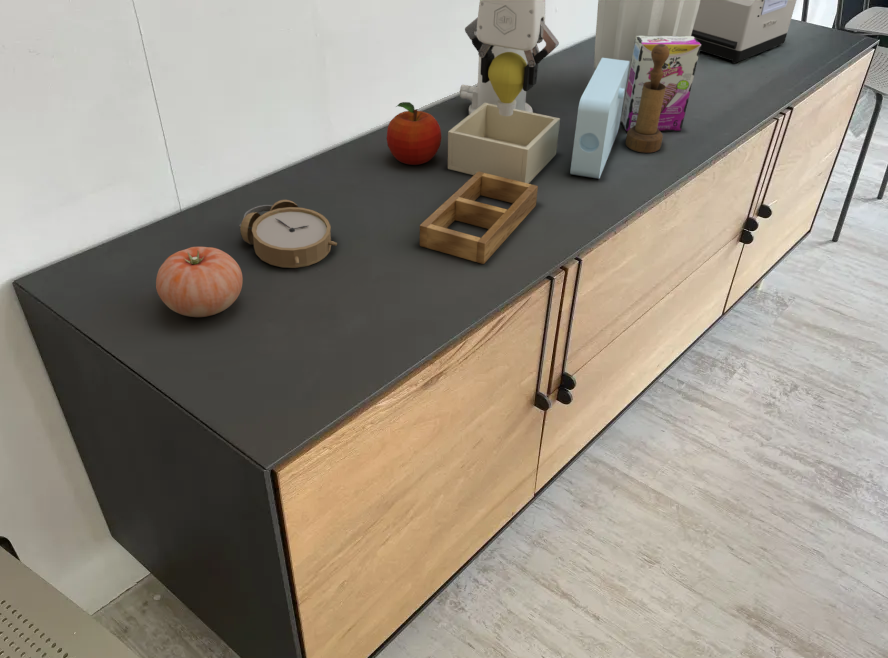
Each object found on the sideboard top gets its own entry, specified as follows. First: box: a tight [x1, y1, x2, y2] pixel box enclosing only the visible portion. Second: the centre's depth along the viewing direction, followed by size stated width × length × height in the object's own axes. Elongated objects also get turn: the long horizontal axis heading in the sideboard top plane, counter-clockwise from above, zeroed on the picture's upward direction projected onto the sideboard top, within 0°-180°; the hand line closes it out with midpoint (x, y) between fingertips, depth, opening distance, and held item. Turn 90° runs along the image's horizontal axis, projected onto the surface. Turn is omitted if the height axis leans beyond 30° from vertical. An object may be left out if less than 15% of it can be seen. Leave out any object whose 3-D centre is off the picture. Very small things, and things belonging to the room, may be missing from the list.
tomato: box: [155, 246, 244, 318], centre depth 101 cm, size 11×11×8 cm
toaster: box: [691, 0, 797, 64], centre depth 185 cm, size 23×25×17 cm
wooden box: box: [447, 103, 561, 184], centre depth 136 cm, size 15×15×7 cm
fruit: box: [386, 101, 442, 166], centre depth 135 cm, size 10×10×10 cm
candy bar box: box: [620, 36, 701, 132], centre depth 146 cm, size 11×5×16 cm, turn 94°
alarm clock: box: [238, 199, 338, 269], centre depth 115 cm, size 11×5×15 cm
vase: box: [593, 0, 700, 104], centre depth 154 cm, size 20×20×27 cm
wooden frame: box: [419, 171, 539, 265], centre depth 120 cm, size 11×20×4 cm, turn 153°
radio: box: [569, 58, 630, 180], centre depth 138 cm, size 23×6×13 cm, turn 162°
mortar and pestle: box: [625, 44, 669, 154], centre depth 139 cm, size 7×6×18 cm
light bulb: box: [488, 52, 527, 116], centre depth 129 cm, size 7×7×10 cm
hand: (507, 83), depth 129 cm, fingers closed on light bulb, 6 cm apart
